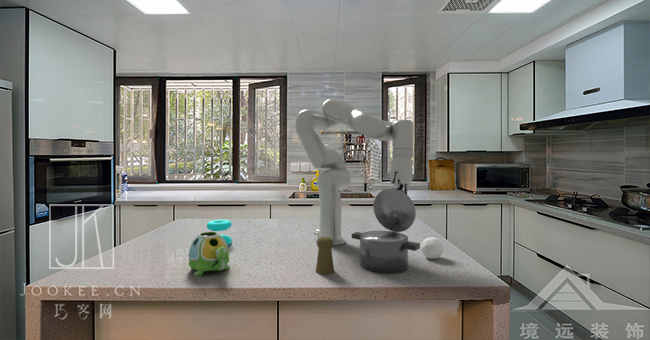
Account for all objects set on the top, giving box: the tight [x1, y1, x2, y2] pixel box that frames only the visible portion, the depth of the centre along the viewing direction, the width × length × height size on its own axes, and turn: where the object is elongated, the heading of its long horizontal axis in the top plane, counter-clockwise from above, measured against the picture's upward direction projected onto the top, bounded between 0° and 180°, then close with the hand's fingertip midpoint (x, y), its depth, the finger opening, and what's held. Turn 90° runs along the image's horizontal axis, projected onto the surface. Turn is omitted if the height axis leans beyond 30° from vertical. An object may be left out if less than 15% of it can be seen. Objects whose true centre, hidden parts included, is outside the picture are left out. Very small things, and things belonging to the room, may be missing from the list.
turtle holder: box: [187, 230, 231, 277], centre depth 98 cm, size 12×18×12 cm
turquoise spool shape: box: [206, 219, 233, 246], centre depth 129 cm, size 10×10×10 cm
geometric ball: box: [420, 236, 444, 260], centre depth 111 cm, size 8×8×8 cm
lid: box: [372, 187, 417, 233], centre depth 110 cm, size 16×16×3 cm
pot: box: [351, 230, 421, 275], centre depth 104 cm, size 24×16×10 cm, turn 50°
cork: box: [315, 237, 335, 276], centre depth 98 cm, size 6×6×11 cm
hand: (402, 202), depth 114 cm, fingers closed
